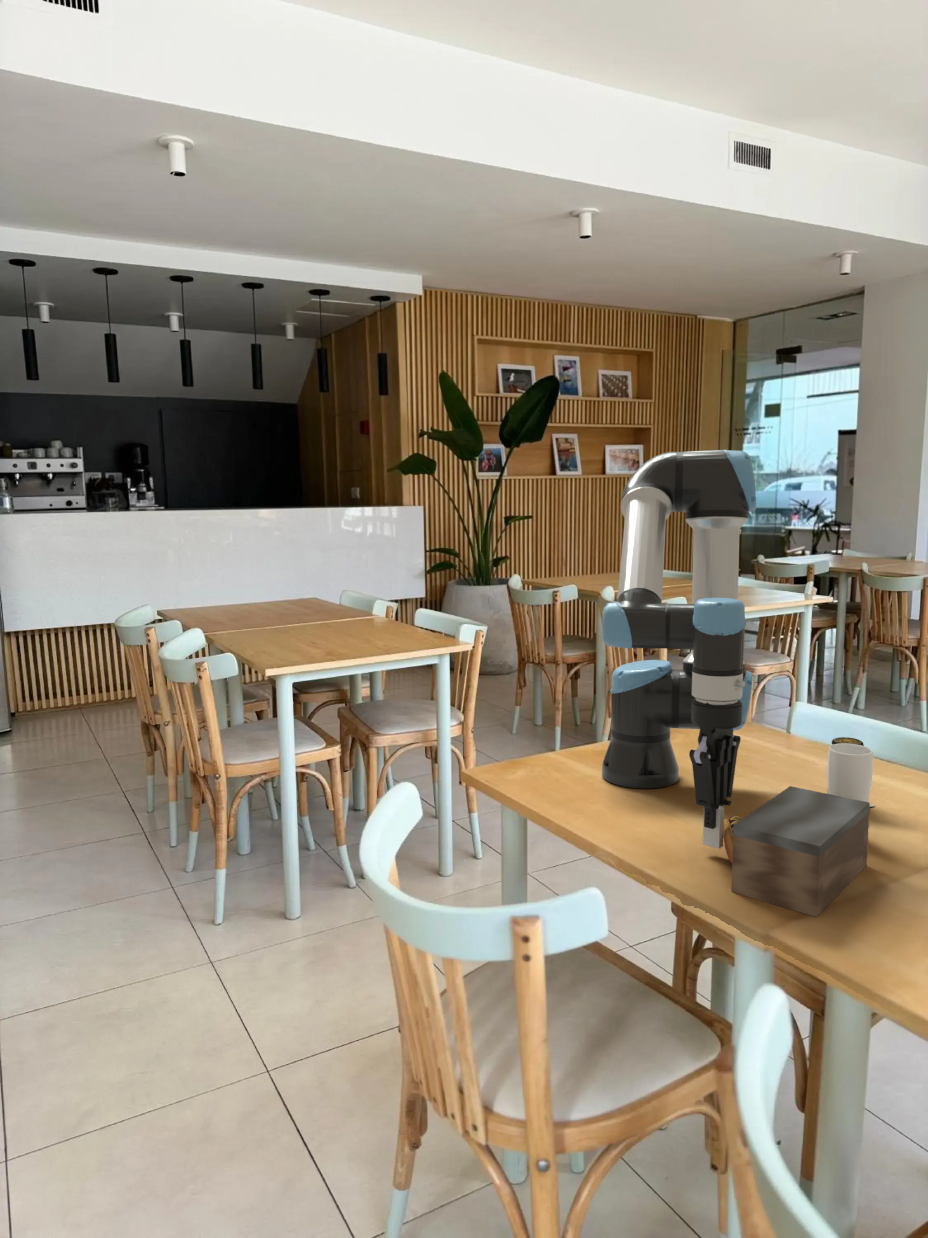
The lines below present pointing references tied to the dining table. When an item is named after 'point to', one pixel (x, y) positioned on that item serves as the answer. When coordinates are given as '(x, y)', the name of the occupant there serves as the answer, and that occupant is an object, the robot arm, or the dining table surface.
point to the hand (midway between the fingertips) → (713, 845)
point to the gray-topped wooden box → (800, 849)
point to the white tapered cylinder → (850, 771)
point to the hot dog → (729, 835)
